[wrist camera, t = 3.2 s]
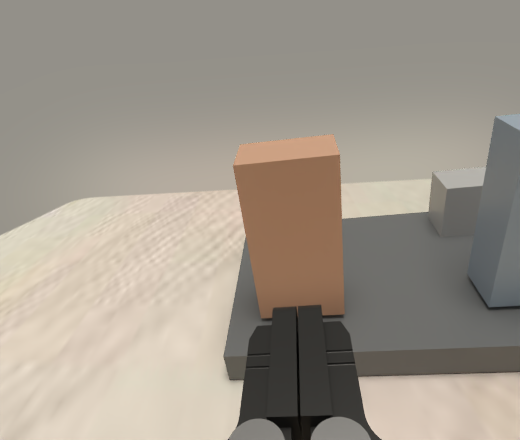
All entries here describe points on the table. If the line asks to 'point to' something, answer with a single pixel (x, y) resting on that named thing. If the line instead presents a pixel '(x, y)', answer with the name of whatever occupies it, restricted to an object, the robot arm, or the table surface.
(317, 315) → the robot arm
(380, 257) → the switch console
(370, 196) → the table surface
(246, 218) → the orange rectangular block
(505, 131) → the blue-gray rectangular block
